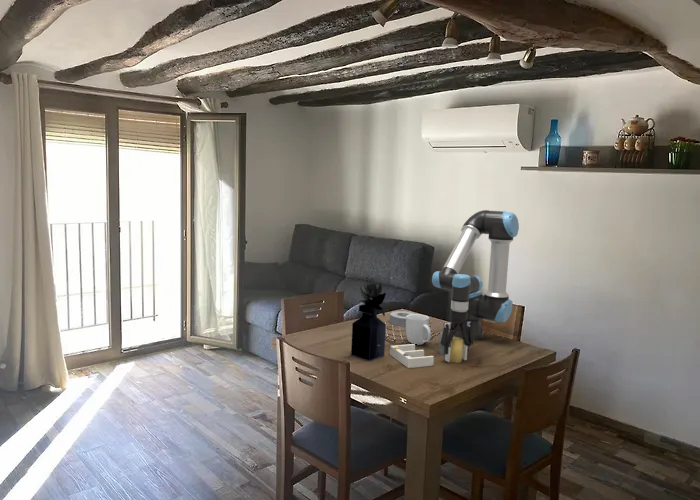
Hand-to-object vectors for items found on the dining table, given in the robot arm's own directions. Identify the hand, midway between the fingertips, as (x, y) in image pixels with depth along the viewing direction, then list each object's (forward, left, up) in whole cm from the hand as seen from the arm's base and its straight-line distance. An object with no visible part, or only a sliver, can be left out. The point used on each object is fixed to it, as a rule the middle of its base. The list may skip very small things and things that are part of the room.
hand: (455, 360), depth 240 cm
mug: (+5, -26, 0) cm, 26 cm away
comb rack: (+20, -6, 0) cm, 21 cm away
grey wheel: (-5, -61, -1) cm, 61 cm away
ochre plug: (0, 0, 0) cm, 0 cm away
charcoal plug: (0, -10, 0) cm, 10 cm away
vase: (+35, -16, 0) cm, 38 cm away
